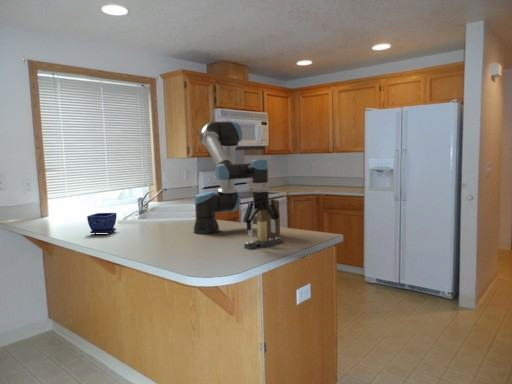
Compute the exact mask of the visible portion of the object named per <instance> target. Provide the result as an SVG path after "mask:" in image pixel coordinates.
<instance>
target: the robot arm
mask: <svg viewBox="0 0 512 384" xmlns="http://www.w3.org/2000/svg"><path fill="white" fill-rule="evenodd" d="M199 137H200V138H199V139H200V141H201V143H202V144H203V146H205V147H206V148H207V150H208V152H209V154H210V156H211V158H212V160H213V162H214V163H215V169H214V170H215V172H214V173H215V177H216V179H217V180H218V181H220V182H219V188H218V189H217V193H215V191H203V192H200V193H198V194H195V197H194V209H195V221H194V227H193V233H194V234H198V235H199V234H200V235H208V234H209V235H210V234H215V233H218V232H219V231H220V227H219V224H218V221H217V217H216V214H219V213H232V212H235V211H237V210H238V209H239V208H240V205H241V195H240V193H239V192H238V190H237V189H236V187H235V180H245V179H252V191H253V192H252V199H253V202H252V201H251V202H250V201H249V202H248V203H247V208H246V211H245V214H244V217H243V220H242V222H243V223H245V224H246V230H247V231H248V232H247V233H248V237H249V238H250V237H251V238H253V237H254V230H253V229H254V227H253V225H254V224H253V223H252V222H253V220H254V218H255V217H256V216H257V212H258V211H261V210H266V211H267V213H268V214H269V215H270V216H271V218H272V219H271V232H273V233H276V231H275V226H276V220H277V219H278V218H280V213H279V214H278V212H277V209H276V207H275V205H274V200H269V201H268V199H270V197H269V172H268V170H269V169H268V168H269V166H268V160H267V159H265V158H263V159H257V158H256V159H253V160H252V161H251V162H249V163H236V148H237V147H238V146H239V143H240V142H242V138H243V130H242V127H241V125H240V124H239V123H238V122H237V121H229V120H228V121H210V122H207V123H206V124H204V125H203V127H202V129H201V130H200V136H199ZM268 204H269V205H270V207H271V209H272V211H271V210H270V208H269V207H268Z"/></svg>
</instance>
